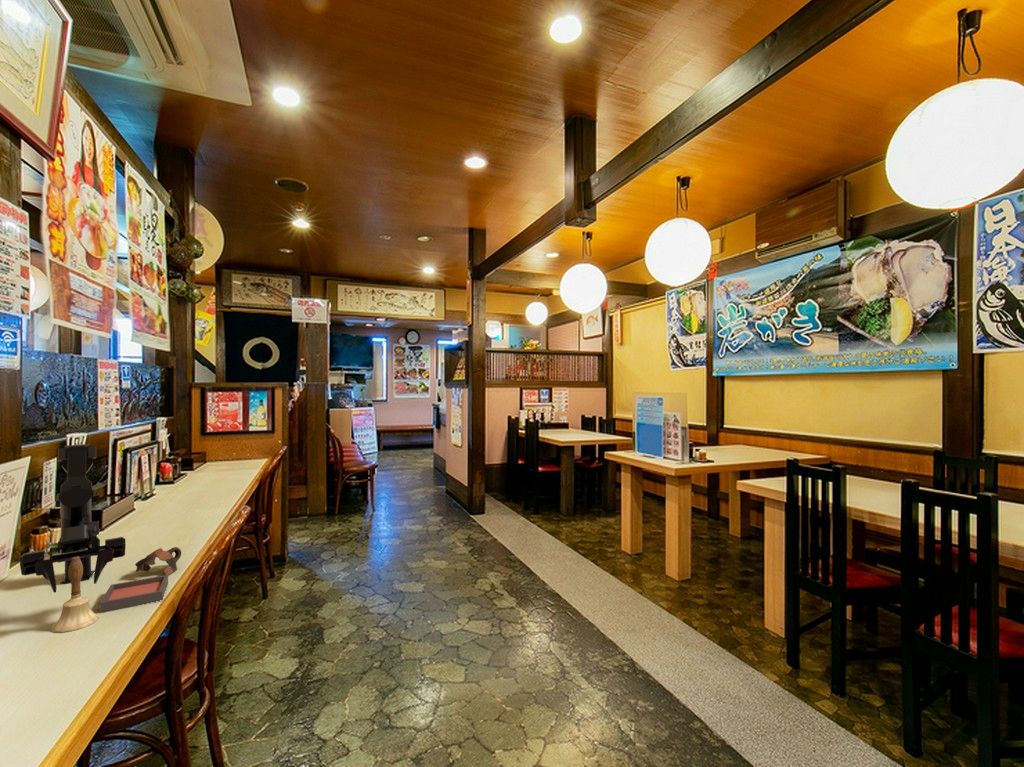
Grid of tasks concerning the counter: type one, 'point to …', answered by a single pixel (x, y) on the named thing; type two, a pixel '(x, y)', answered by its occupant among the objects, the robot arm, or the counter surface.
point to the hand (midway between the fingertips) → (75, 587)
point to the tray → (134, 593)
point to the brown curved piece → (163, 556)
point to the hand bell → (75, 603)
